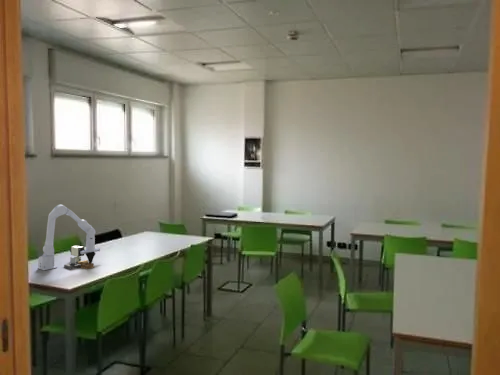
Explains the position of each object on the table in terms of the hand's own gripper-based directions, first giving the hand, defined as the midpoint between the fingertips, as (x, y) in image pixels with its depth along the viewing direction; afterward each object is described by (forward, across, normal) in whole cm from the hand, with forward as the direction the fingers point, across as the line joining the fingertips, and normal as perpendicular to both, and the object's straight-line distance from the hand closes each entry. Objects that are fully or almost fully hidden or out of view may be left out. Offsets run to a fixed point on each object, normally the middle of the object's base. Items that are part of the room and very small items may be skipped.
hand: (90, 262), depth 305 cm
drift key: (+1, -6, 0) cm, 6 cm away
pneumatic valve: (+1, -1, +14) cm, 14 cm away
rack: (+1, -7, -8) cm, 10 cm away
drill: (+1, -14, 0) cm, 14 cm away
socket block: (+1, -14, 0) cm, 14 cm away
